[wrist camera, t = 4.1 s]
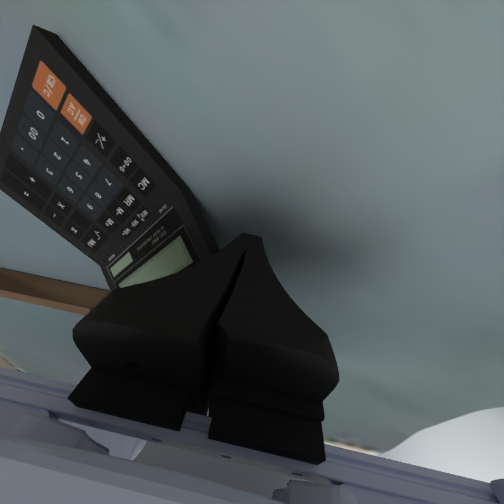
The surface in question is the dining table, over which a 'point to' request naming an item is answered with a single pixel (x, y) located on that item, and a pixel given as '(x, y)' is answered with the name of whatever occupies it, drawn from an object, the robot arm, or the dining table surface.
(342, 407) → the dining table surface
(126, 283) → the calculator
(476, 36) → the dining table surface
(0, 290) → the brown angled flat piece
